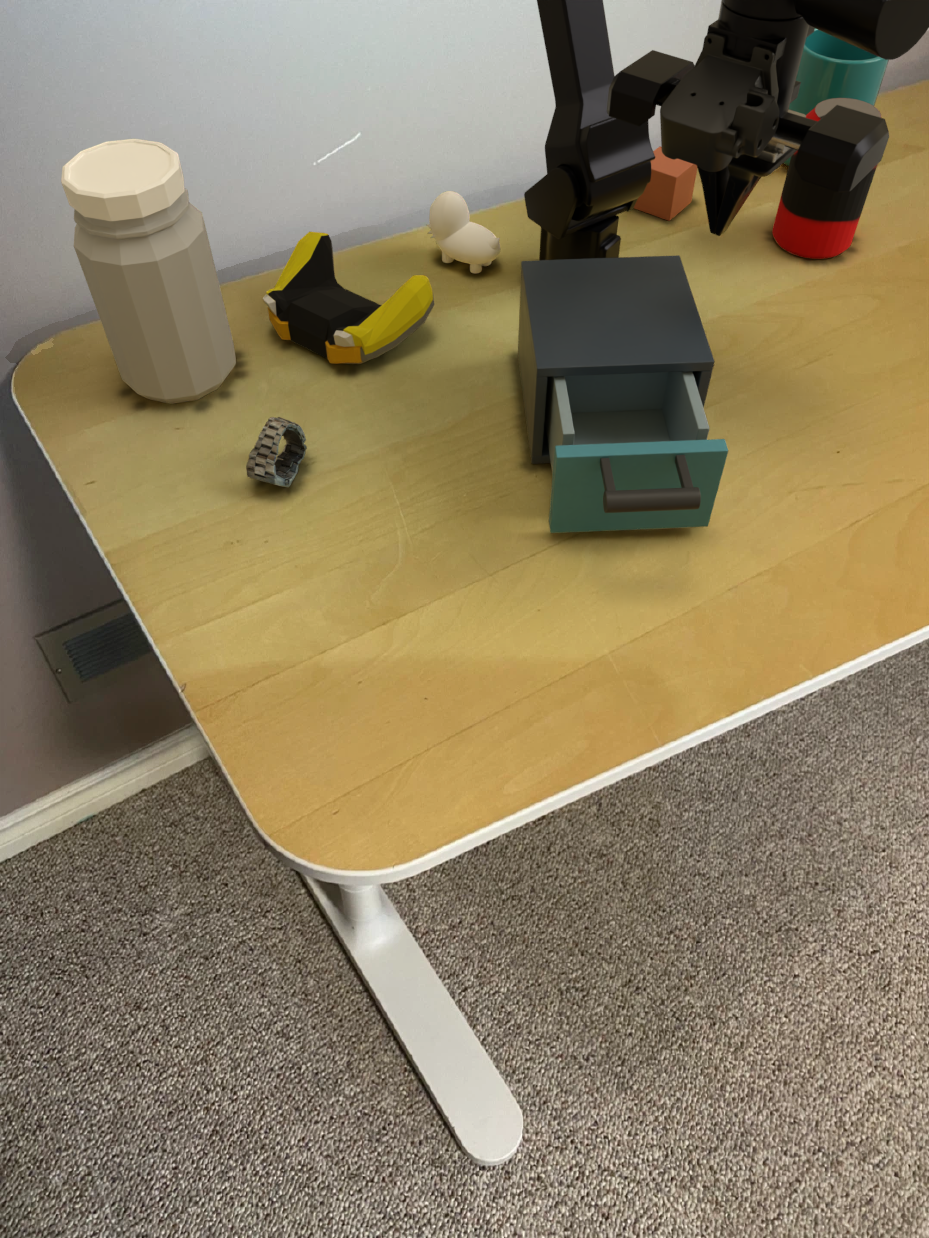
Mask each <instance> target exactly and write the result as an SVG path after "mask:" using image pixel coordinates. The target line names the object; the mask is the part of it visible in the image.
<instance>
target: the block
mask: <svg viewBox="0 0 929 1238" xmlns="http://www.w3.org/2000/svg"><path fill="white" fill-rule="evenodd" d="M653 152H654V155H655V159H654V160H651V180H650V183H648V184H647V186H646V188H645V190H644V192H643V194H642V195H641V196H640V197H639V198H638V199H637V202H636V204H635V206H634V208H633V209H635V210H638V211H640V212H643V213H646V214H649V215H650V216H651V215H652V216H654V217H657V218H659V219H662V220H664V221H668V222H670V221H672V219H674V218H675V217H676V216H677V215H678V214H680V213H681V212H682V211H683V210H684V209H686V208H687V207H688V206H689V205H690V204H691V203H692V201H693V195H694V189H695V184H696V178H697V173H698V168H697V165H695V164H692V163H689V162H686V161H683V160H680V159H675V160H674V159H670V158H668V157H666V156H665V155H664V154H663V153H662V148H661V146H658V147H656V148H655V149H654V150H653Z"/></svg>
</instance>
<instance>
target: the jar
mask: <svg viewBox="0 0 929 1238" xmlns="http://www.w3.org/2000/svg"><path fill="white" fill-rule="evenodd" d="M180 160H181V159H180V156H179V153H178V152H177V151H176V150H173V149H172V148H170V146H168V145H166V144H164V143H163V142H159V141H153V140H146V139H140V138H128V139H118V140H109V141H104V142H100V143H99V144H96V145H93V146H90V147H87V148H85V149H82V150H80V151H79V152H78V153H76V154H75V155H74V156H73V157H72V158H71V159H70V160H68V161H67V162H66V163H65V164H64V165H63V166H62V167H61V168H62V169H61V179H60V184H61V186H62V188H63V191H64V195H65V196H66V200H67V202H68V205H69V206H70V207H71V208H72V209H74V210H73V220H74V223H75V227H74V233H73V234H74V235H73V248H74V252H75V254H76V257H77V260H78V263H79V265H80V268H81V270H82V273H83V276H84V278H85V281H86V284H87V287H88V289H89V292H90V296H91V298H92V300H93V304H94V306H95V309H96V312H97V314H98V317H99V320H100V323H101V326H102V329H103V331H104V334H105V336H106V339H107V343H108V345H109V347H110V350H111V353H112V356H113V358H114V361H115V364H116V366H117V370H118V372H119V375H120V378H121V380H122V381H123V382H124V383H125V384H126V385H128V386H129V388H130V389H132V391H134V392H135V393H136V394H137V395H139V396H141V397H143V398H146V399H148V400H151V401H156V402H160V403H166V404H170V405H171V404H172V405H173V404H178V403H184V402H185V403H186V402H193V401H198V400H199V399H201V398H203V397H205V396H207V395H209V394H211V393H213V392H215V391H217V390H218V389H219V388H220V387H221V386H222V384H223V383H224V381H225V380H226V379H227V378H228V376H229V375H230V373H231V372H232V371H233V369H234V368H235V366H236V365H237V359H236V349H235V343H234V339H233V335H232V330H231V327H230V323H229V318H228V314H227V310H226V306H225V302H224V297H223V294H222V290H221V285H220V282H219V281H220V280H219V277H218V273H217V268H216V264H215V261H214V256H213V252H212V248H211V243H210V240H209V239H210V238H209V235H208V232H207V227H206V224H205V220H204V219H205V218H204V215H203V212H202V211H201V210H200V209H198V207H196V206H195V205H194V204H193V203H191V202H190V199H189V191H188V189H187V188H185V177H184V172H183V169H182V165H181V161H180Z"/></svg>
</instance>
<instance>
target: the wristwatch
mask: <svg viewBox="0 0 929 1238" xmlns="http://www.w3.org/2000/svg"><path fill="white" fill-rule="evenodd" d="M282 437H283V440H285V445H284V447H283V450H282V451H281V452H280V453H279V448H280V447H279V446H280V443H281V440H282ZM306 441H307V438H306V434H305V431H304V429H303V428H302V426H301V425H300V424H299V423H296V422H294V421H291V420H289V419H286V418H284V417H281V416H276V417H275V416H270V417H269V418H268V419H267V421H266V422H265V423H264V425H263V427H262V429H261V431H259V434H258V437H257V440H256V442H255V444H254V447H253V448H251V450H250V452H249V454H248V459H247V462H246V465H245V466H246V467H245V471H246V477H247V478H249V479H252V480H257V481H260V482H263V483H267V484H271V485H275V486H277V487H283V488H289V487H291V485H292V483H293V481H294V480H295V477H296V475H297V474H298V472H299V465H300V464H301V462H303V460H304V459H305V456H306V453H307V452H306V451H307V449H308V446H307V445H306V444H305V443H306Z"/></svg>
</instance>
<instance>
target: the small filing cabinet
mask: <svg viewBox="0 0 929 1238" xmlns="http://www.w3.org/2000/svg"><path fill="white" fill-rule="evenodd" d="M519 286H520V287H519V310H518V335H517V337H518V338H517V339H518V340H517V361H518V369H519V377H520V382H521V383H520V385H521V392H522V400H523V409H524V416H525V424H526V432H527V440H528V448H529V456H530V463H531V464H532V465H540V464H542V465H543V464H551V462H550V455H549V448H548V441H547V434H546V428H545V421H544V420H545V406H546V391H547V377H552V376H578V375H604V374H630V373H656V372H682V371H692V372H693V375H694V378H695V382H696V385H697V388H698V392H699V395H700V398H701V401H702V405H703V408H704V409H705V405H706V400H707V395H708V392H709V387H710V383H711V378H712V374H713V370H714V366H715V362H716V361H715V358H714V355H713V352H712V349H711V347H710V344H709V340H708V337H707V335H706V331H705V328H704V325H703V323H702V319H701V315H700V312H699V311H698V308H697V304H696V301H695V298H694V295H693V292H692V289H691V285H690V282H689V279H688V277H687V274H686V270H685V267H684V265H683V262H682V258H681V256H680V255H679V254H677V255H650V256H649V255H648V256H623V257H620V256H619V258H591V259H564V260H539V259H538V260H537V259H536V260H521V262H520V285H519Z"/></svg>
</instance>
